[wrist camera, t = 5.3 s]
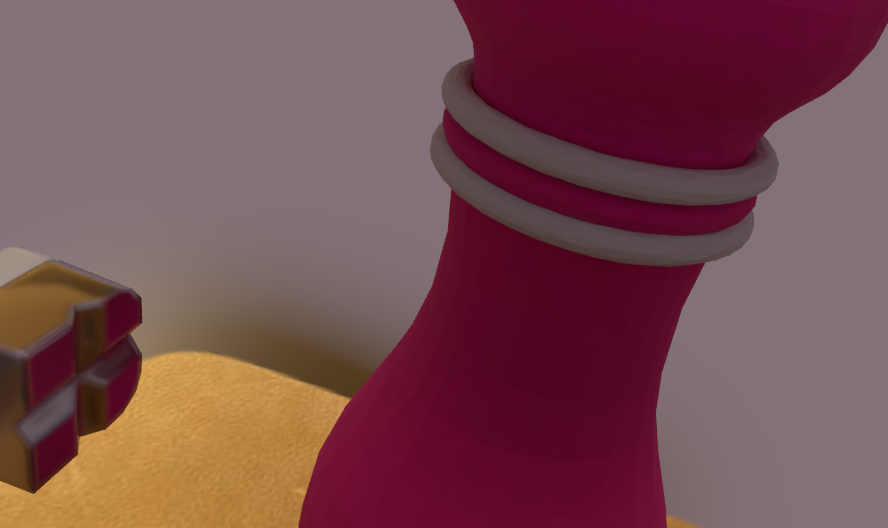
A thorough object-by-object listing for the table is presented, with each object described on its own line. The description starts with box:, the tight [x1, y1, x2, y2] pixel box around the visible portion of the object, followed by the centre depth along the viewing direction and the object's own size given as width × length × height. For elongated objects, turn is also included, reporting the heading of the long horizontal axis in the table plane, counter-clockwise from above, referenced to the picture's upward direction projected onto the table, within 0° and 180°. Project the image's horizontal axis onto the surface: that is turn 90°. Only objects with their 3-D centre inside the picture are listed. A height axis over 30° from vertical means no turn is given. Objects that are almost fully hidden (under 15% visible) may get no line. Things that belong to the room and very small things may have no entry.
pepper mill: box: [299, 0, 888, 528], centre depth 13 cm, size 7×7×20 cm
